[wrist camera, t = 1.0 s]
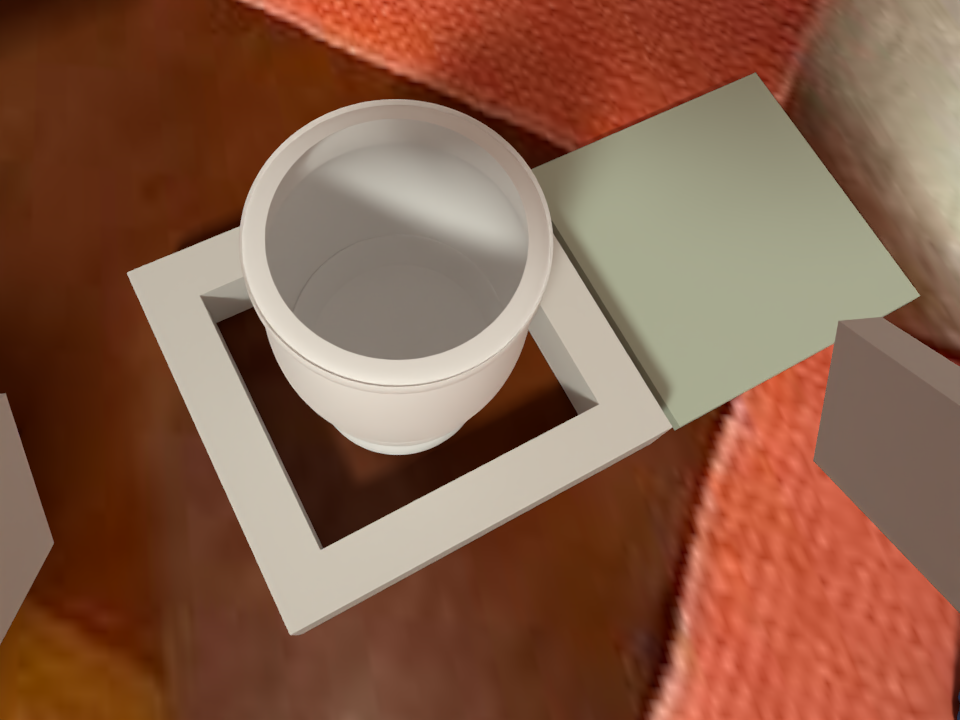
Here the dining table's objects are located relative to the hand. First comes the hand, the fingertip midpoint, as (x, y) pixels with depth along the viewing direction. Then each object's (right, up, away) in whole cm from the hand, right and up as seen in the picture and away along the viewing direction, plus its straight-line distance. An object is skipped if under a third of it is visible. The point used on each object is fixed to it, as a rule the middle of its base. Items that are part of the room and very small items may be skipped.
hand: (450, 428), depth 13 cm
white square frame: (-4, 0, +27) cm, 28 cm away
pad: (+14, +8, +31) cm, 35 cm away
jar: (-4, 0, +27) cm, 28 cm away
